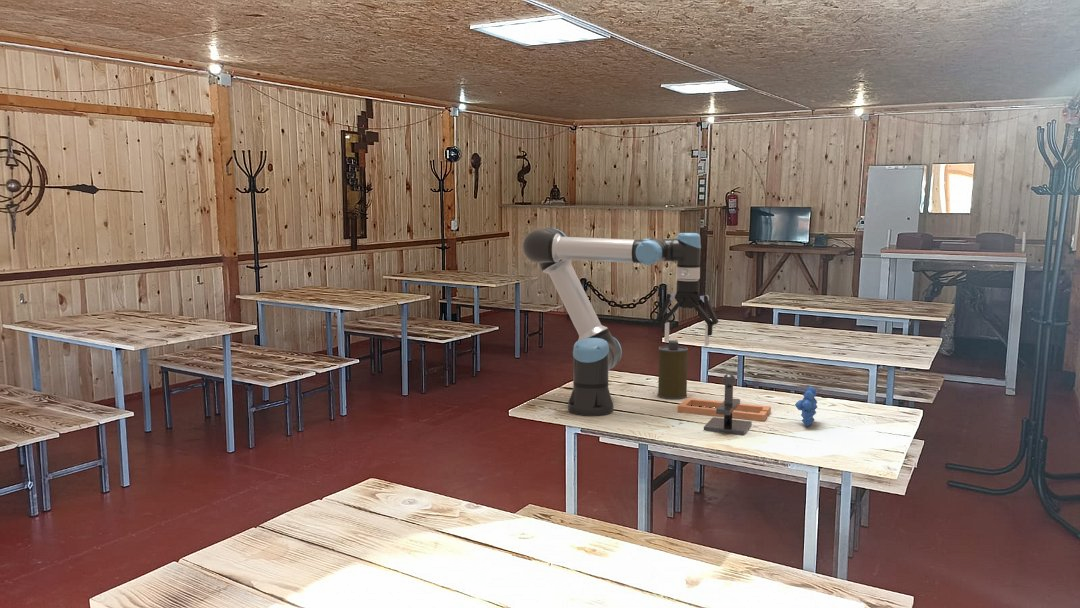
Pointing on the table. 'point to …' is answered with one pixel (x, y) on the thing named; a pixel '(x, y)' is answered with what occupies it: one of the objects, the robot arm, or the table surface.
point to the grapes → (808, 406)
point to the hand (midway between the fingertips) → (686, 343)
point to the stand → (728, 412)
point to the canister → (672, 371)
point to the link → (740, 414)
